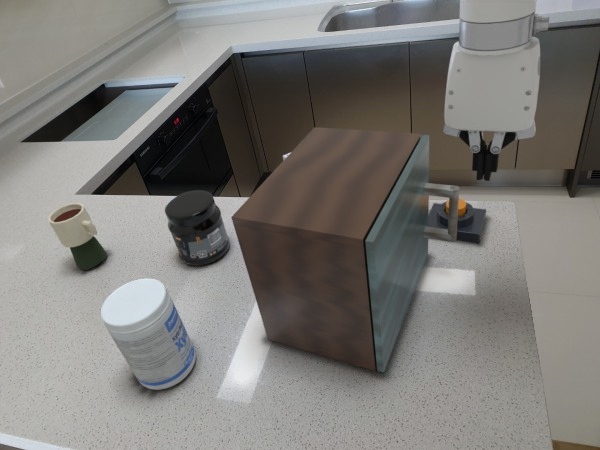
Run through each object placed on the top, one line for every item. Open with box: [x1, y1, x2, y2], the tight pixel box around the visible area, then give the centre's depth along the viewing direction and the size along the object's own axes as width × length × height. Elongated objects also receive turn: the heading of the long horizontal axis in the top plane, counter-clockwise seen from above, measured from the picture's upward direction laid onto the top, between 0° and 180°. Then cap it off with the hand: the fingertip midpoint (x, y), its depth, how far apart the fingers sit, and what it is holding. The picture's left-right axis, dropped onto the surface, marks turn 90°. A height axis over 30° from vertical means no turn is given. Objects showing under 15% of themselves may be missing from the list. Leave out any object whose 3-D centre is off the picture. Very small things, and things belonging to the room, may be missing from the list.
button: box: [445, 198, 467, 217], centre depth 86 cm, size 4×4×2 cm
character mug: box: [47, 202, 108, 271], centre depth 95 cm, size 11×7×13 cm, turn 70°
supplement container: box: [164, 189, 230, 266], centre depth 92 cm, size 10×10×12 cm
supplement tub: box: [100, 277, 197, 391], centre depth 68 cm, size 10×10×15 cm
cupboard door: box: [365, 134, 460, 374], centre depth 66 cm, size 6×26×24 cm, turn 154°
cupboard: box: [230, 126, 422, 372], centre depth 72 cm, size 18×26×24 cm
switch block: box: [428, 200, 487, 244], centre depth 88 cm, size 10×8×4 cm
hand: (484, 175), depth 61 cm, fingers closed
